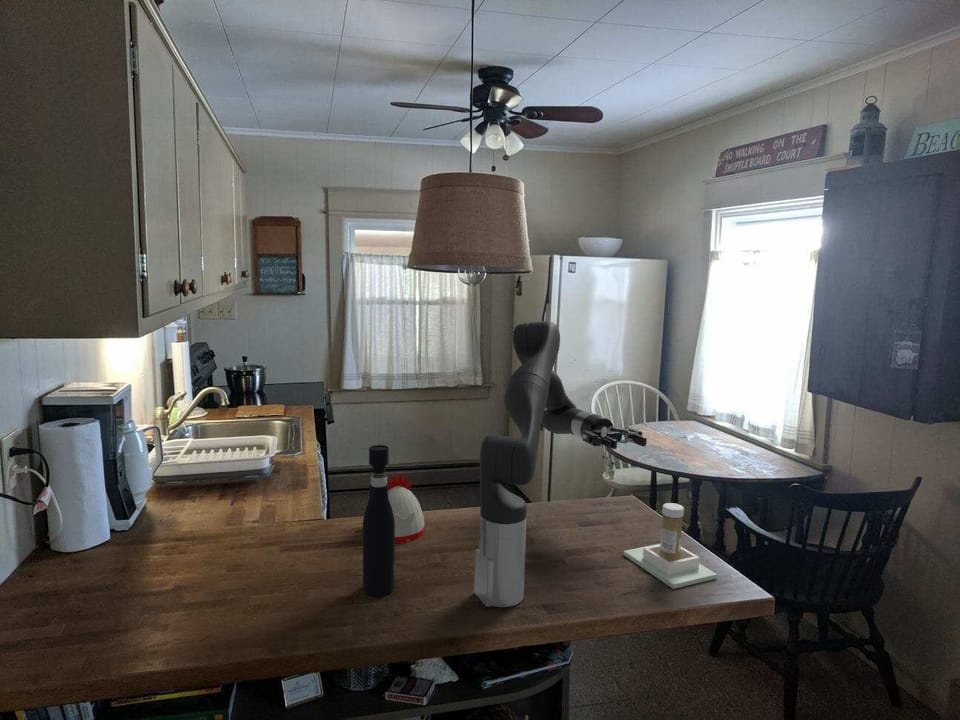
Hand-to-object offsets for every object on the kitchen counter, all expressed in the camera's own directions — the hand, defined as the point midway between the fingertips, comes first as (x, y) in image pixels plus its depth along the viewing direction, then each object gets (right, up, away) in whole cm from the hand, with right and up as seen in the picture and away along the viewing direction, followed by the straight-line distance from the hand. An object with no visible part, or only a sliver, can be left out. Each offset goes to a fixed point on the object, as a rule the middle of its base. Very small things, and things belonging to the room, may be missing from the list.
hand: (630, 443), depth 155 cm
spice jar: (+7, -26, -8) cm, 28 cm away
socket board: (+7, -27, -7) cm, 29 cm away
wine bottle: (-56, -27, -20) cm, 66 cm away
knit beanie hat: (-56, -23, +8) cm, 61 cm away
